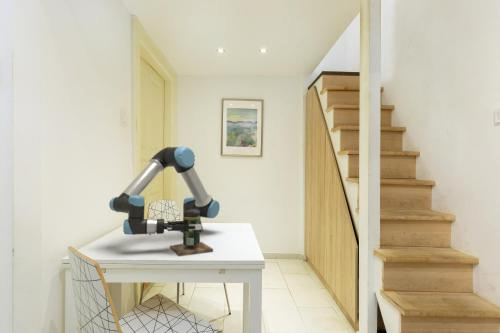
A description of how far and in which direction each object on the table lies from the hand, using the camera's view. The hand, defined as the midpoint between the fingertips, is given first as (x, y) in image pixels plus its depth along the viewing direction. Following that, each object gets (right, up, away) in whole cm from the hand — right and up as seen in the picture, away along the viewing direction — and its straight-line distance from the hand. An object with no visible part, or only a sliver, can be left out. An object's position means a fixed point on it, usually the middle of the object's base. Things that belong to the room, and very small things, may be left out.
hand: (200, 225), depth 161 cm
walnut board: (-5, -13, -1) cm, 14 cm away
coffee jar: (-5, -10, -1) cm, 11 cm away
